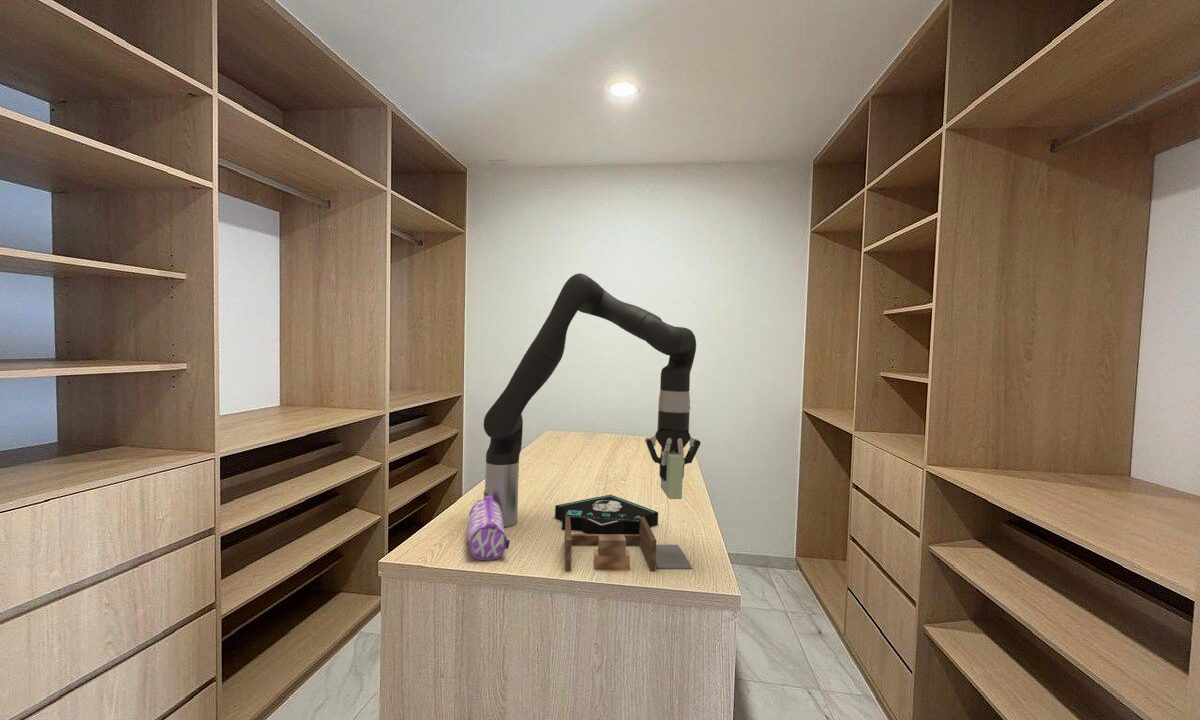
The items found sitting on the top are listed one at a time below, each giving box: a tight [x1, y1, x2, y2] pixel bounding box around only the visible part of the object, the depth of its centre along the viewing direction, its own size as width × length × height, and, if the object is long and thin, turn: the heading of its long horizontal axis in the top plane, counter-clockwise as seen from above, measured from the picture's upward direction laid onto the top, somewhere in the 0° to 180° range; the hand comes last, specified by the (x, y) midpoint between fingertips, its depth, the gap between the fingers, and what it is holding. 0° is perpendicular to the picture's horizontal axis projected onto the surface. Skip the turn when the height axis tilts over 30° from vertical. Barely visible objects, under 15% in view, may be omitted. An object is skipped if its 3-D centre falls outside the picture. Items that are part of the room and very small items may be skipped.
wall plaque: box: [554, 494, 659, 534], centre depth 151 cm, size 30×4×30 cm
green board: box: [660, 451, 684, 500], centre depth 126 cm, size 10×3×10 cm, turn 5°
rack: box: [563, 516, 657, 572], centre depth 125 cm, size 20×16×7 cm
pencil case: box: [467, 495, 510, 561], centre depth 130 cm, size 22×9×9 cm, turn 16°
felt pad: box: [656, 544, 693, 570], centre depth 126 cm, size 8×14×1 cm, turn 5°
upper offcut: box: [597, 535, 627, 556], centre depth 119 cm, size 6×4×4 cm, turn 94°
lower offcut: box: [593, 548, 631, 571], centre depth 120 cm, size 8×4×4 cm, turn 92°
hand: (671, 479), depth 126 cm, fingers closed on green board, 3 cm apart
